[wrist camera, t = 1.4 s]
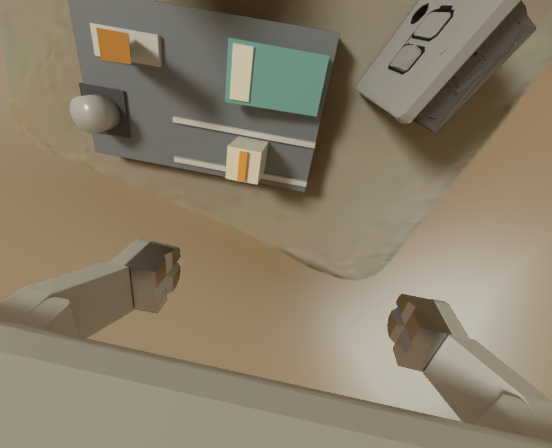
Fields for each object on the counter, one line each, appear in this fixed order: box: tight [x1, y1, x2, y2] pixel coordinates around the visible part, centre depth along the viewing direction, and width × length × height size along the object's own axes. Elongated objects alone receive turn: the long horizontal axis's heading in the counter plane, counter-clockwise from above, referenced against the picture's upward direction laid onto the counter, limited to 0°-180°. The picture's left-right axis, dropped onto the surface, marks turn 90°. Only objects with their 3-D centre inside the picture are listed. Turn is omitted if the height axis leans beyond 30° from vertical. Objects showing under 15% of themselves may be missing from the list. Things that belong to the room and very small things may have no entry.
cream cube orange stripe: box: [225, 136, 269, 185], centre depth 26 cm, size 3×3×4 cm
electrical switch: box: [356, 0, 536, 133], centre depth 21 cm, size 9×5×9 cm, turn 146°
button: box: [70, 94, 120, 133], centre depth 26 cm, size 3×3×2 cm
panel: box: [68, 0, 340, 192], centre depth 27 cm, size 14×23×3 cm, turn 81°
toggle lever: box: [96, 28, 131, 64], centre depth 21 cm, size 2×2×6 cm
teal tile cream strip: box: [225, 38, 330, 117], centre depth 23 cm, size 8×5×1 cm, turn 81°
